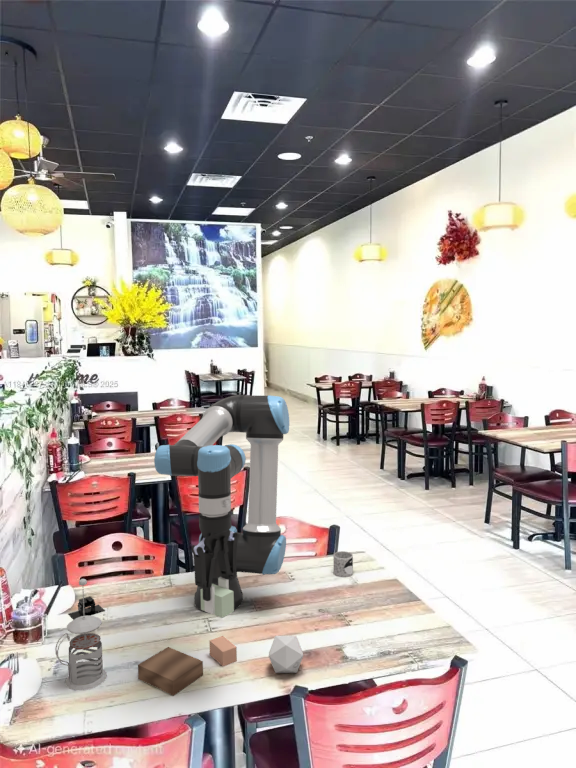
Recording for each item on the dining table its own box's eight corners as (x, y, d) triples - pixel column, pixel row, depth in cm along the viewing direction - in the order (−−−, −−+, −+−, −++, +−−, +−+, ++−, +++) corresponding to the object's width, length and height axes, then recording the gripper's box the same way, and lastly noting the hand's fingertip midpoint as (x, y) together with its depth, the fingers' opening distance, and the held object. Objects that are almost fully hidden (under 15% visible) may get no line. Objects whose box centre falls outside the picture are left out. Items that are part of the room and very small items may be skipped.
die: (291, 687, 142) (312, 647, 145) (259, 665, 144) (280, 627, 146) (290, 679, 151) (310, 642, 153) (260, 659, 152) (280, 623, 154)
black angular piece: (70, 624, 173) (69, 609, 173) (61, 615, 179) (61, 600, 178) (111, 612, 181) (110, 597, 181) (102, 603, 187) (101, 589, 186)
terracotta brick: (209, 655, 156) (209, 640, 155) (223, 650, 158) (222, 635, 158) (223, 667, 150) (222, 651, 150) (236, 661, 152) (236, 646, 152)
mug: (347, 578, 203) (347, 559, 202) (330, 574, 206) (330, 556, 206) (359, 568, 212) (359, 550, 211) (342, 565, 215) (342, 547, 214)
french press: (112, 681, 144) (109, 581, 142) (62, 698, 138) (58, 593, 135) (101, 663, 152) (97, 568, 150) (53, 677, 146) (49, 578, 144)
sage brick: (201, 609, 142) (200, 589, 142) (212, 603, 145) (212, 583, 145) (222, 618, 138) (221, 597, 137) (233, 611, 141) (233, 591, 141)
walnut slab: (138, 680, 145) (137, 664, 145) (168, 661, 153) (168, 646, 153) (173, 697, 138) (173, 680, 138) (203, 676, 146) (202, 661, 146)
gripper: (199, 525, 130) (201, 627, 133) (251, 506, 144) (252, 599, 146) (176, 518, 135) (179, 617, 137) (228, 501, 148) (230, 591, 151)
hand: (216, 608), depth 142 cm, fingers closed on sage brick, 4 cm apart
